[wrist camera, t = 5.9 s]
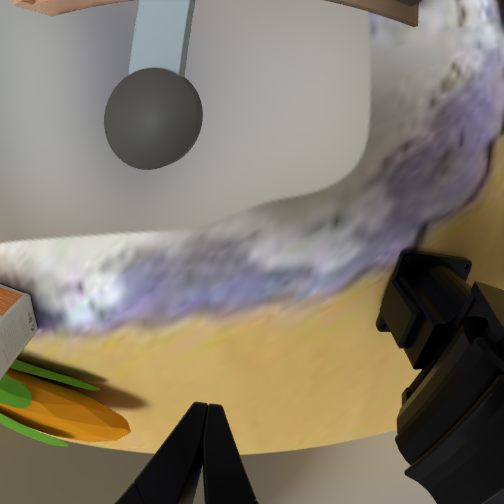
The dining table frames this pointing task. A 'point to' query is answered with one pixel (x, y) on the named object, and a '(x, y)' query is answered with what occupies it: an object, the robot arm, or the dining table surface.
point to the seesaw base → (388, 8)
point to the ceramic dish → (60, 5)
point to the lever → (156, 90)
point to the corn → (55, 408)
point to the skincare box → (14, 325)
